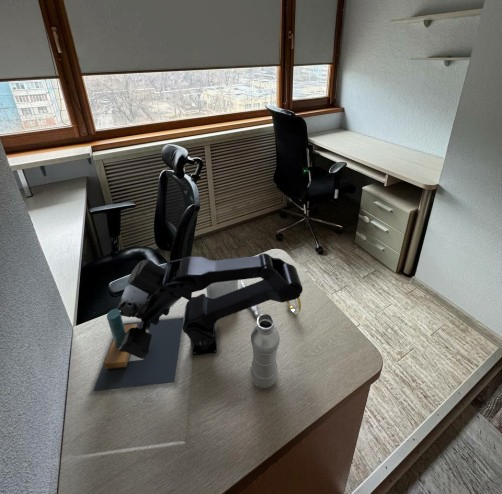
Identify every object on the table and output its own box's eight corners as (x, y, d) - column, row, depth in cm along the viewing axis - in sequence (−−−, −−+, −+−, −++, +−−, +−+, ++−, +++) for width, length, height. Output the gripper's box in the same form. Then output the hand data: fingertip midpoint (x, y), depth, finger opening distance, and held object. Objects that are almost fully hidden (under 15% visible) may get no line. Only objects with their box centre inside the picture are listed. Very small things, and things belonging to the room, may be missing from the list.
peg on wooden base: (139, 331, 77) (130, 296, 72) (127, 369, 68) (116, 332, 63) (121, 333, 77) (111, 297, 71) (106, 371, 68) (93, 334, 62)
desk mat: (183, 318, 81) (183, 317, 81) (174, 382, 66) (174, 381, 65) (118, 324, 80) (118, 323, 79) (93, 392, 64) (92, 391, 64)
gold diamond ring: (302, 317, 81) (304, 298, 78) (293, 321, 80) (294, 302, 77) (290, 299, 87) (291, 280, 84) (281, 302, 86) (282, 284, 83)
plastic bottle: (249, 364, 69) (248, 309, 62) (275, 361, 70) (277, 307, 62) (251, 393, 63) (251, 337, 56) (279, 390, 64) (283, 334, 56)
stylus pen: (261, 316, 81) (261, 312, 81) (253, 320, 80) (253, 315, 80) (244, 280, 94) (244, 276, 93) (237, 282, 93) (236, 278, 93)
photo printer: (233, 291, 90) (232, 262, 86) (240, 300, 87) (239, 271, 82) (205, 306, 85) (202, 276, 80) (211, 316, 82) (208, 286, 77)
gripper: (146, 254, 73) (112, 288, 76) (122, 318, 55) (80, 359, 59) (179, 274, 76) (145, 306, 79) (166, 340, 59) (124, 376, 62)
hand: (126, 332), depth 70 cm, fingers open, 9 cm apart
